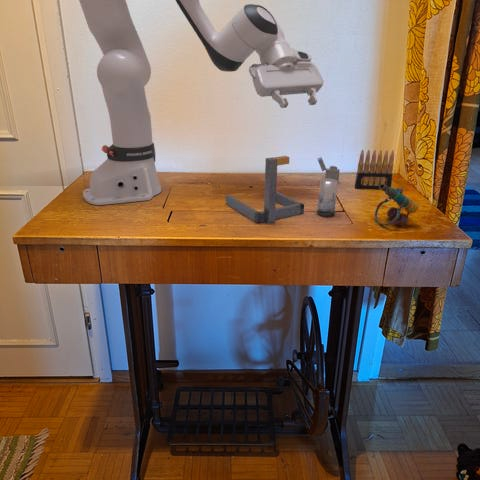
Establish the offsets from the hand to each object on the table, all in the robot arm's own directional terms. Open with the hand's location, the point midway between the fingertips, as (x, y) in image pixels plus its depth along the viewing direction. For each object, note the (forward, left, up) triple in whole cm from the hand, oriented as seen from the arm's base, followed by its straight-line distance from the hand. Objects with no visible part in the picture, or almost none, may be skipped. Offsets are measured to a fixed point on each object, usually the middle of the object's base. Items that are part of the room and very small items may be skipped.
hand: (299, 105), depth 115 cm
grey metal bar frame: (-12, -3, -26) cm, 29 cm away
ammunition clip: (+27, -4, -26) cm, 38 cm away
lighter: (+19, +8, -26) cm, 33 cm away
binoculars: (+11, -27, -26) cm, 39 cm away
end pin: (0, -14, -26) cm, 29 cm away
